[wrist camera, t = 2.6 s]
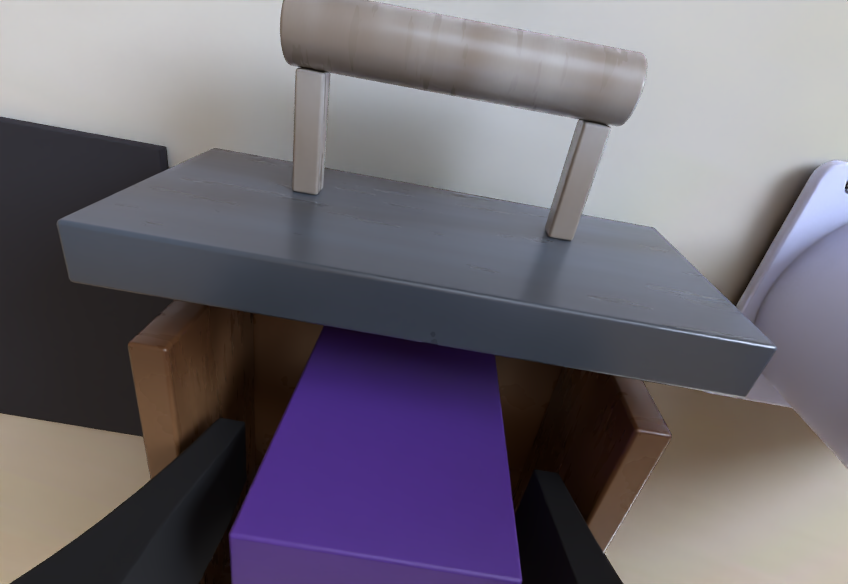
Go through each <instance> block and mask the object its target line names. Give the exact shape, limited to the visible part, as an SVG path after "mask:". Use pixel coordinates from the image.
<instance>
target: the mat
mask: <svg viewBox="0 0 848 584" xmlns="http://www.w3.org/2000/svg"><path fill="white" fill-rule="evenodd" d="M167 169H168V161H167V151H166V147H164V146H159V145H153V144H148V143H142V142H137V141H131V140H125V139H120V138H114V137H109V136H103V135H98V134H92V133H87V132H81V131H76V130H70V129H65V128H59V127H54V126H48V125H43V124H37V123H32V122H26V121H21V120H15V119H10V118H4V117H0V413H3V414H9V415H15V416H21V417H27V418H33V419H39V420H45V421H52V422H58V423H64V424H70V425H76V426H82V427H88V428H94V429H100V430H106V431H112V432H118V433H124V434H131V435H137V436H143V432H142V426H141V421H140V415H139V409H138V403H137V398H136V392H135V386H134V380H133V375H132V369H131V363H130V357H129V352H128V343H129V341H131V340H132V339H133V338H134V337H135V336H136V335H137V334H138V333H139V332H140V331H141V330H142V329H143V328H144V327H146V326H147V325H148V324H149V323H150V322H151V321H152V320H153V319H154V318H155V317H156V316H157V315H158V314H159V313H161V312H162V311H163V310H164V309H165V308H166V307H167V306H168V305H169V304H170V303H171V302H172V301H173V299H167V298H161V297H156V296H150V295H144V294H138V293H132V292H127V291H121V290H115V289H109V288H103V287H98V286H92V285H86V284H80V283H74V282H72V281H70V279H69V277H68V272H67V268H66V263H65V259H64V255H63V250H62V246H61V241H60V237H59V233H58V228H57V221H58V220H59V219H61V218H63V217H65V216H67V215H70V214H72V213H74V212H76V211H78V210H80V209H83V208H85V207H87V206H89V205H91V204H93V203H96V202H98V201H100V200H102V199H104V198H106V197H109V196H111V195H113V194H115V193H117V192H119V191H122V190H124V189H126V188H128V187H130V186H132V185H135V184H137V183H139V182H141V181H143V180H145V179H148V178H150V177H152V176H154V175H156V174H158V173H161V172H163V171H165V170H167Z"/></svg>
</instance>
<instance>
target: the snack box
mask: <svg viewBox="0 0 848 584" xmlns="http://www.w3.org/2000/svg"><path fill="white" fill-rule="evenodd" d="M229 551H230V568H231V584H522V573H521V565H520V556H519V548H518V540H517V532H516V524H515V515H514V507H513V499H512V491H511V482H510V474H509V466H508V458H507V449H506V441H505V433H504V425H503V417H502V408H501V400H500V392H499V384H498V375H497V367H496V359H495V355H492V354H486V353H480V352H474V351H468V350H463V349H457V348H451V347H445V346H439V345H434V344H428V343H422V342H416V341H410V340H405V339H399V338H393V337H387V336H381V335H376V334H370V333H364V332H358V331H353V330H347V329H341V328H335V327H329V326H323V329H322V331H321V333H320V335H319V337H318V340H317V342H316V344H315V346H314V348H313V350H312V353H311V355H310V357H309V359H308V361H307V364H306V366H305V368H304V370H303V372H302V374H301V377H300V379H299V381H298V383H297V385H296V388H295V390H294V392H293V394H292V396H291V399H290V401H289V403H288V405H287V407H286V409H285V412H284V414H283V416H282V418H281V420H280V423H279V425H278V427H277V429H276V431H275V434H274V436H273V438H272V440H271V442H270V444H269V447H268V449H267V451H266V453H265V455H264V458H263V460H262V462H261V464H260V466H259V469H258V471H257V473H256V475H255V477H254V479H253V482H252V484H251V486H250V488H249V490H248V493H247V495H246V497H245V499H244V501H243V504H242V506H241V508H240V510H239V512H238V514H237V517H236V519H235V521H234V523H233V525H232V528H231V530H230V532H229Z"/></svg>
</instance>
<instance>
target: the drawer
mask: <svg viewBox="0 0 848 584" xmlns="http://www.w3.org/2000/svg"><path fill="white" fill-rule="evenodd" d="M280 37H281V46H282V51H283V55H284V58H285V60H286V62H287V63H288V64H290V65H292V66H297V67H302V68H297V69H296V76H295V109H294V143H293V162H290V161H284V160H279V159H273V158H268V157H262V156H257V155H251V154H246V153H240V152H234V151H229V150H223V149H218V148H213V149H210V150H208V151H206V152H204V153H202V154H200V155H197V156H195V157H193V158H191V159H189V160H187V161H184V162H182V163H180V164H178V165H176V166H174V167H171V168H169V169H167V170H165V171H163V172H161V173H158V174H156V175H154V176H152V177H150V178H148V179H145V180H143V181H141V182H139V183H137V184H135V185H132V186H130V187H128V188H126V189H124V190H122V191H119V192H117V193H115V194H113V195H111V196H109V197H106V198H104V199H102V200H100V201H98V202H96V203H93V204H91V205H89V206H87V207H85V208H83V209H80V210H78V211H76V212H74V213H72V214H70V215H67V216H65V217H63V218H61V219H59V220H58V221H57V228H58V233H59V237H60V241H61V246H62V250H63V255H64V259H65V263H66V268H67V272H68V277H69V279H70V281H72V282H74V283H80V284H86V285H92V286H98V287H103V288H109V289H115V290H121V291H127V292H132V293H138V294H144V295H150V296H156V297H161V298H167V299H173V301H172V302H171V303H170V304H169V305H168V306H167V307H166V308H165V309H164V310H163V311H162V312H161V313H159V314H158V315H157V316H156V317H155V318H154V319H153V320H152V321H151V322H150V323H149V324H148V325H147V326H146V327H144V328H143V329H142V330H141V331H140V332H139V333H138V334H137V335H136V336H135V337H134V338H133V339H132V340H131V341H129V343H128V352H129V357H130V363H131V369H132V375H133V380H134V386H135V392H136V398H137V403H138V409H139V415H140V421H141V426H142V432H143V438H144V444H145V450H146V455H147V461H148V467H149V473H150V478H151V479H152V478H153V477H154V476H156V475H157V474H158V473H159V472H160V471H161V470H163V469H164V468H165V467H166V466H167V465H168V464H170V463H171V462H172V461H173V460H174V459H175V458H176V457H177V456H178V455H180V454H181V453H182V452H183V451H184V450H185V449H186V448H187V447H188V446H189V445H191V444H192V443H193V442H194V441H195V440H196V439H197V438H198V437H199V436H200V435H201V434H202V433H203V432H204V431H206V430H207V429H208V428H209V427H210V426H211V425H212V424H213V423H214V422H215V421H216V420H218V419H219V418H225V419H231V420H237V421H243V422H245V430H246V469H247V479H246V482H245V484H244V487H243V490H242V493H241V495H240V498H239V501H238V503H237V506H236V508H235V511H234V513H233V516H232V518H231V521H230V523H229V525H228V527H227V529H226V531H225V533H224V535H223V537H222V539H221V541H220V543H219V545H218V547H217V549H216V551H215V553H214V555H213V557H212V559H211V561H210V562H209V564H208V566H207V568H206V570H205V572H204V574H203V576H202V578H201V580H200V582H199V584H231V568H230V551H229V532H230V530H231V528H232V525H233V523H234V521H235V519H236V517H237V514H238V512H239V510H240V508H241V506H242V504H243V501H244V499H245V497H246V495H247V493H248V490H249V488H250V486H251V484H252V482H253V479H254V477H255V475H256V473H257V471H258V469H259V466H260V464H261V462H262V460H263V458H264V455H265V453H266V451H267V449H268V447H269V444H270V442H271V440H272V438H273V436H274V434H275V431H276V429H277V427H278V425H279V423H280V420H281V418H282V416H283V414H284V412H285V409H286V407H287V405H288V403H289V401H290V399H291V396H292V394H293V392H294V390H295V388H296V385H297V383H298V381H299V379H300V377H301V374H302V372H303V370H304V368H305V366H306V364H307V361H308V359H309V357H310V355H311V353H312V350H313V348H314V346H315V344H316V342H317V340H318V337H319V335H320V333H321V331H322V329H323V326H329V327H335V328H341V329H347V330H353V331H358V332H364V333H370V334H376V335H381V336H387V337H393V338H399V339H405V340H410V341H416V342H422V343H428V344H434V345H439V346H445V347H451V348H457V349H463V350H468V351H474V352H480V353H486V354H492V355H495V359H496V367H497V375H498V384H499V392H500V400H501V408H502V417H503V425H504V433H505V441H506V449H507V458H508V466H509V474H510V482H511V491H512V499H513V507H514V515H516V512H517V510H518V507H519V505H520V502H521V500H522V497H523V495H524V492H525V490H526V488H527V485H528V483H529V480H530V478H531V475H532V473H533V470H534V469H536V470H542V471H548V472H554V473H558V474H559V475H560V477H561V478H562V480H563V482H564V484H565V486H566V488H567V489H568V491H569V493H570V495H571V497H572V498H573V500H574V502H575V504H576V506H577V508H578V509H579V511H580V513H581V515H582V516H583V518H584V520H585V522H586V523H587V525H588V527H589V529H590V530H591V532H592V534H593V536H594V537H595V539H596V541H597V542H598V544H599V546H600V547H601V549H602V551H603V552H605V551H606V549H607V547H608V546H609V544H610V542H611V540H612V539H613V537H614V535H615V534H616V532H617V530H618V529H619V527H620V525H621V523H622V522H623V520H624V518H625V517H626V515H627V513H628V512H629V510H630V508H631V506H632V505H633V503H634V501H635V500H636V498H637V496H638V495H639V493H640V491H641V489H642V488H643V486H644V484H645V483H646V481H647V479H648V477H649V476H650V474H651V472H652V471H653V469H654V467H655V466H656V464H657V462H658V460H659V459H660V457H661V455H662V454H663V452H664V450H665V449H666V447H667V445H668V443H669V442H670V440H671V438H672V435H671V432H670V430H669V428H668V427H667V425H666V423H665V421H664V419H663V417H662V415H661V414H660V412H659V410H658V408H657V406H656V404H655V403H654V401H653V399H652V397H651V395H650V393H649V391H648V390H647V388H646V386H645V384H644V382H643V381H648V382H654V383H660V384H665V385H671V386H677V387H683V388H689V389H694V390H700V391H706V392H712V393H718V394H723V395H729V396H735V397H741V398H743V397H746V396H747V395H748V393H749V392H750V390H751V389H752V387H753V386H754V384H755V382H756V381H757V379H758V378H759V376H760V375H761V373H762V372H763V370H764V369H765V367H766V366H767V364H768V363H769V361H770V360H771V358H772V357H773V355H774V353H775V352H776V350H777V347H776V345H775V344H774V343H772V342H771V341H770V340H769V339H768V338H767V337H766V336H765V335H764V334H763V333H762V332H761V331H760V330H759V329H758V328H757V327H756V326H755V325H754V324H753V323H752V322H751V321H750V320H749V319H748V318H747V317H746V316H745V315H744V314H743V313H742V312H741V311H739V310H738V309H737V308H736V307H735V306H734V305H733V304H732V303H731V302H730V301H729V300H728V299H727V298H726V297H725V296H724V295H723V294H722V293H721V292H720V291H719V290H718V289H717V288H716V287H715V286H714V285H713V284H712V283H711V282H710V281H709V280H707V279H706V278H705V277H704V276H703V275H702V274H701V273H700V272H699V271H698V270H697V269H696V268H695V267H694V266H693V265H692V264H691V263H690V262H689V261H688V260H687V259H686V258H685V257H684V256H683V255H682V254H681V253H680V252H679V251H678V250H677V249H675V248H674V247H673V246H672V245H671V244H670V243H669V242H668V241H667V240H666V239H665V238H664V237H663V236H662V235H661V234H660V233H659V232H658V231H657V230H656V229H655V228H653V227H647V226H642V225H636V224H631V223H625V222H620V221H614V220H609V219H603V218H598V217H592V216H587V215H582V212H583V209H584V206H585V203H586V200H587V197H588V195H589V192H590V189H591V186H592V183H593V180H594V177H595V174H596V171H597V169H598V166H599V163H600V160H601V157H602V154H603V151H604V148H605V145H606V143H607V140H608V137H609V134H610V131H611V127H609V126H608V125H612V126H621V125H623V124H624V123H625V122H626V121H627V120H628V119H629V117H630V116H631V115H632V113H633V111H634V109H635V108H636V106H637V104H638V101H639V99H640V96H641V94H642V91H643V88H644V84H645V80H646V74H647V59H646V56H645V55H644V54H643V53H640V52H635V51H630V50H625V49H619V48H614V47H609V46H604V45H599V44H593V43H588V42H583V41H578V40H572V39H567V38H562V37H557V36H552V35H546V34H541V33H536V32H531V31H526V30H520V29H515V28H510V27H505V26H499V25H494V24H489V23H484V22H479V21H473V20H468V19H463V18H458V17H452V16H447V15H442V14H437V13H432V12H426V11H421V10H416V9H411V8H406V7H400V6H395V5H390V4H385V3H379V2H374V1H369V0H283V4H282V10H281V18H280ZM330 73H334V74H340V75H345V76H350V77H356V78H361V79H366V80H372V81H377V82H382V83H388V84H393V85H398V86H404V87H409V88H414V89H420V90H425V91H430V92H436V93H441V94H446V95H452V96H457V97H462V98H468V99H473V100H478V101H484V102H489V103H494V104H500V105H505V106H511V107H516V108H521V109H527V110H532V111H537V112H543V113H548V114H553V115H559V116H564V117H569V118H575V119H579V120H578V122H577V125H576V129H575V132H574V135H573V138H572V141H571V145H570V148H569V151H568V154H567V158H566V161H565V164H564V167H563V170H562V174H561V177H560V180H559V183H558V186H557V190H556V193H555V196H554V199H553V203H552V206H551V209H548V208H543V207H537V206H532V205H526V204H521V203H515V202H510V201H504V200H499V199H493V198H488V197H482V196H477V195H471V194H466V193H460V192H455V191H449V190H444V189H438V188H433V187H427V186H422V185H416V184H411V183H405V182H400V181H394V180H389V179H383V178H378V177H372V176H367V175H361V174H356V173H350V172H345V171H339V170H334V169H328V168H324V165H325V149H326V133H327V117H328V101H329V85H330ZM606 124H607V125H606Z"/></svg>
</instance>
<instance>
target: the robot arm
mask: <svg viewBox="0 0 848 584" xmlns="http://www.w3.org/2000/svg"><path fill="white" fill-rule="evenodd" d="M847 182H848V162H846V161H840V160H831V161H829V162H826V163H823V164H822V165H820V166H819V167H818V168H816V169H815V171H814V172H813V173H812V174H811V176H810V178H809V179H808V181H807V183H806V185H805V186H804V188H803V190H802V192H801V193H800V195H799V197H798V199H797V200H796V202H795V204H794V206H793V207H792V209H791V211H790V213H789V214H788V216H787V218H786V220H785V221H784V223H783V225H782V227H781V228H780V230H779V232H778V234H777V235H776V237H775V239H774V241H773V242H772V244H771V246H770V248H769V249H768V251H767V253H766V255H765V256H764V258H763V260H762V262H761V263H760V265H759V267H758V269H757V270H756V272H755V274H754V276H753V277H752V279H751V281H750V283H749V284H748V286H747V288H746V290H745V291H744V293H743V295H742V297H741V298H740V300H739V302H738V304H737V305H736V308H737V309H738V310H739V311H741V312H742V313H743V314H744V315H745V316H746V317H747V318H748V319H749V320H750V321H751V322H752V323H753V324H754V325H755V326H756V327H757V328H758V329H759V330H760V331H761V332H762V333H763V334H764V335H765V336H766V337H767V338H768V339H769V340H770V341H771V342H772V343H774V344H775V345H776V347H777V350H776V352H775V353H774V355H773V357H772V358H771V360H770V361H769V363H768V364H767V366H766V367H765V369H764V370H763V372H762V373H761V375H760V376H759V378H758V379H757V381H756V382H755V384H754V386H753V387H752V389H751V390H750V392H749V393H748V395H747V396H746V397H743V398H741V397H735V396H729V395H723V394H718V393H712V392H706V391H704V392H706V393H709V394H715V395H721V396H727V397H732V398H738V399H744V400H750V401H756V402H761V403H767V404H773V405H779V406H785V407H790V408H793V409H794V410H795V411H796V412H797V413H798V414H799V416H800V417H801V418H802V419H803V420H804V421H805V422H806V423H807V424H808V426H809V427H810V428H811V429H812V430H813V431H814V432H815V433H816V434H817V435H818V437H819V438H820V439H821V440H822V441H823V442H824V443H825V444H826V445H827V447H828V448H829V449H830V450H831V451H832V452H833V453H834V454H835V455H836V456H837V458H838V459H839V460H840V461H841V462H842V463H843V464H844V465H845V466H846V468H847V469H848V189H846V190H844V188H845V185H846V183H847ZM246 479H247V469H246V430H245V422H243V421H237V420H231V419H225V418H219V419H218V420H216V421H215V422H214V423H213V424H212V425H211V426H210V427H209V428H208V429H207V430H206V431H204V432H203V433H202V434H201V435H200V436H199V437H198V438H197V439H196V440H195V441H194V442H193V443H192V444H191V445H189V446H188V447H187V448H186V449H185V450H184V451H183V452H182V453H181V454H180V455H178V456H177V457H176V458H175V459H174V460H173V461H172V462H171V463H170V464H168V465H167V466H166V467H165V468H164V469H163V470H161V471H160V472H159V473H158V474H157V475H156V476H154V477H153V478H152V479H151V480H150V481H149V482H148V483H146V484H145V485H144V486H143V487H142V488H140V489H139V490H138V491H137V492H136V493H134V494H133V495H132V496H131V497H129V498H128V499H127V500H126V501H124V502H123V503H122V504H121V505H119V506H118V507H117V508H116V509H114V510H113V511H112V512H111V513H109V514H108V515H107V516H105V517H104V518H103V519H102V520H100V521H99V522H98V523H96V524H95V525H94V526H92V527H91V528H90V529H88V530H87V531H86V532H84V533H83V534H82V535H80V536H79V537H78V538H76V539H75V540H73V541H72V542H71V543H69V544H68V545H66V546H65V547H63V548H62V549H61V550H59V551H58V552H56V553H55V554H53V555H52V556H51V557H49V558H48V559H46V560H45V561H43V562H42V563H40V564H39V565H37V566H36V567H34V568H33V569H31V570H30V571H28V572H27V573H25V574H23V575H22V576H20V577H19V578H17V579H16V580H14V581H13V582H11V583H10V584H199V582H200V580H201V578H202V576H203V574H204V572H205V570H206V568H207V566H208V564H209V562H210V561H211V559H212V557H213V555H214V553H215V551H216V549H217V547H218V545H219V543H220V541H221V539H222V537H223V535H224V533H225V531H226V529H227V527H228V525H229V523H230V521H231V518H232V516H233V513H234V511H235V508H236V506H237V503H238V501H239V498H240V495H241V493H242V490H243V487H244V484H245V482H246ZM515 524H516V532H517V540H518V548H519V556H520V565H521V573H522V584H623V583H622V581H621V580H620V578H619V576H618V575H617V573H616V572H615V570H614V569H613V567H612V565H611V564H610V562H609V560H608V559H607V557H606V556H605V554H604V552H603V551H602V549H601V547H600V546H599V544H598V542H597V541H596V539H595V537H594V536H593V534H592V532H591V530H590V529H589V527H588V525H587V523H586V522H585V520H584V518H583V516H582V515H581V513H580V511H579V509H578V508H577V506H576V504H575V502H574V500H573V498H572V497H571V495H570V493H569V491H568V489H567V488H566V486H565V484H564V482H563V480H562V478H561V477H560V475H559V474H558V473H554V472H548V471H542V470H536V469H534V470H533V473H532V475H531V478H530V480H529V483H528V485H527V488H526V490H525V492H524V495H523V497H522V500H521V502H520V505H519V507H518V510H517V512H516V515H515Z"/></svg>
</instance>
